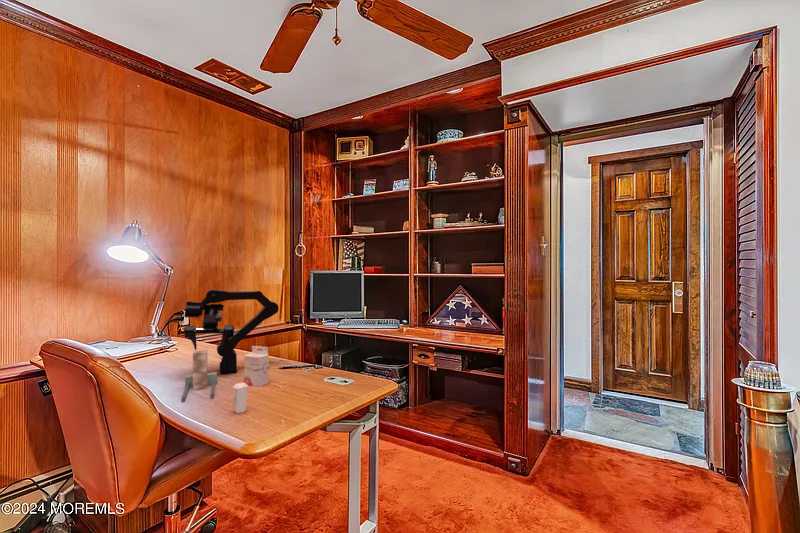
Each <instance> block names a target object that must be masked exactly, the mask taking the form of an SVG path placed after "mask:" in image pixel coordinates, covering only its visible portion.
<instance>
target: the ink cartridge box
mask: <svg viewBox="0 0 800 533" xmlns="http://www.w3.org/2000/svg"><path fill="white" fill-rule="evenodd" d="M269 357H270V356H269V347H268V346H262V345H252V346H251V352H250V353H247V354H245V355H244V356H243V360H244V361H243V383H246V384H247V385H248V386H253V387H263V386H266V385H268V384H269V383H270V380H269V379H270V376H269V374H270V373H269V371H270V370H269V369H270V366H269V363H270V362H269V361H270V360H269V359H270V358H269Z"/></svg>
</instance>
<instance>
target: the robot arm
mask: <svg viewBox="0 0 800 533" xmlns="http://www.w3.org/2000/svg"><path fill="white" fill-rule="evenodd" d="M205 294H206V295H205V297H204V299H202V300H201V302H200V301H199V302H198V301H197V302H196V301H186V305H185V309H184V318H191V319H194V318H197V319H199V318H200V317H201V316H203V320H202V324H201V325H202V326H201V327H202V328H196V325H185V326H184V329H183V334H184V338H186V339H188V340H190V341H191V343H192V346H193V349H194V351H197V348H198V347H197V346H198V345H197V334H198V335H200V334H210V335H211V334H222V337H221V340H219V341H218V344H217V346H216V350H217V354H218V356H219V357H221V361H219V373H220V375H227V374H228V375H229V374H237V373H238V366H237V364H238V360H237V359H238V358H237V355H238V354H237V352H236V350H235V348H236V347H237V346H238V344H239V343H240V342H241V341H242V340H243V339H244V338H246V336H247V335H249V334H250V333H251V332H253V331H254V330H255V329H256V328H257V327H258V326H259V325H260V324H261V323H263V321H265V320H268V319H270V318H271V317H273V316H275V315H276V314H278V312H279V308H280V307H279V304H277V303H276V302H274V301H271V300H270V299H269V298H268V297H266V296H265V295H264V293H263V292H262V291H260V290H255V291H254V290H253V291H252V290H251V291H249V290H247V291H228V290H227V291H226V290H222V289H221V290H220V289H214V288H212V289H209V290H208V291H207V292H206V293H205ZM238 300H239V301H240V300H241V301H243V300H244V301H245V300H246V301H249V300H256V301H257V302H258V303H260V305H262V307H261V308H260V310H259V312H257V314H256V315H255V316H253V317H252V318H251V319H250V320H249V321H247V323H245V324H244V325H243V326H242V327H241V328H239V329H238V330H237V331H236V332H235V326H234V325H232V324H228V325H227V324H226V325H223V326H224V327H223V328H219V326H218V325H219V323H221V322H222V318H223V317H222V316H223V314H222V313H219V312H223V311H224V307H225V306H224V304H221V302H227V301H238ZM203 312H204V313H203Z"/></svg>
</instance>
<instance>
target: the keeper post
mask: <svg viewBox="0 0 800 533" xmlns="http://www.w3.org/2000/svg"><path fill="white" fill-rule="evenodd" d="M207 373H208V349H207V350H194V352H193V353H192V374H193V387H192V391H203V390H207V388H208V387H209V385H208V379H207Z"/></svg>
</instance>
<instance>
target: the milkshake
mask: <svg viewBox="0 0 800 533" xmlns="http://www.w3.org/2000/svg"><path fill="white" fill-rule="evenodd" d="M230 384H231V386H232V394H233V395H232V396H233V401H234V402H233V404H234V413H235V414H237V415H239V414H244V413H245V412H247V401H248V400H247V399H248V391H249V389H248V388H249V385H247V384H246V383H244V382H242V381H241V382H239V383H238V382H237V383H236V384H234V385H233V382H232V381H231V380H230Z"/></svg>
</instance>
